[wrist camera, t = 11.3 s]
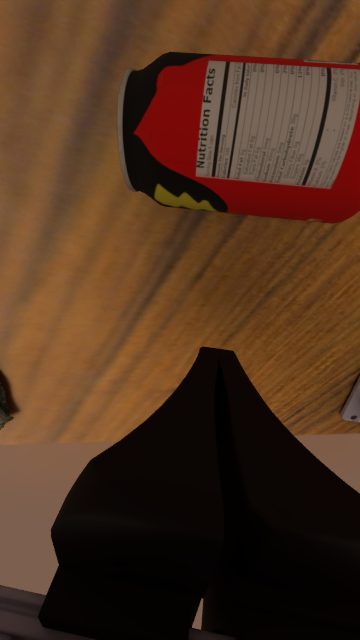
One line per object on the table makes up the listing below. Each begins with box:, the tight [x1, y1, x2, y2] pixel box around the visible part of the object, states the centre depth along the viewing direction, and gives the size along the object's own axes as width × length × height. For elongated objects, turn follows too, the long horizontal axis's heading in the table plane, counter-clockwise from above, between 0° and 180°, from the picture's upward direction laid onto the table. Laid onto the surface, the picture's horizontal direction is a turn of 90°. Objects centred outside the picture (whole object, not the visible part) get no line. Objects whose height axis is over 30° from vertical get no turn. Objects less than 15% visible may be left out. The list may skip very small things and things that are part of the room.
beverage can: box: [117, 52, 360, 223], centre depth 13 cm, size 6×6×12 cm
